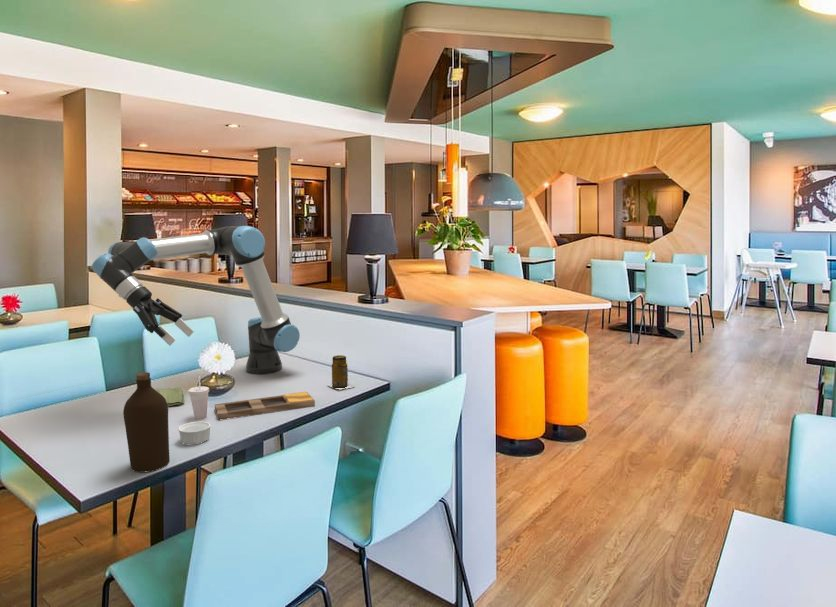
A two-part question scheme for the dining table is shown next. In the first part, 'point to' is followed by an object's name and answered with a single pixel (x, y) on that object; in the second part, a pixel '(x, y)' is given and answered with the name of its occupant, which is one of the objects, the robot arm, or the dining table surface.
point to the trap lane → (264, 405)
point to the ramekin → (194, 432)
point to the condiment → (339, 372)
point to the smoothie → (199, 400)
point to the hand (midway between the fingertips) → (182, 338)
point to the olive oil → (147, 427)
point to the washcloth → (172, 396)
